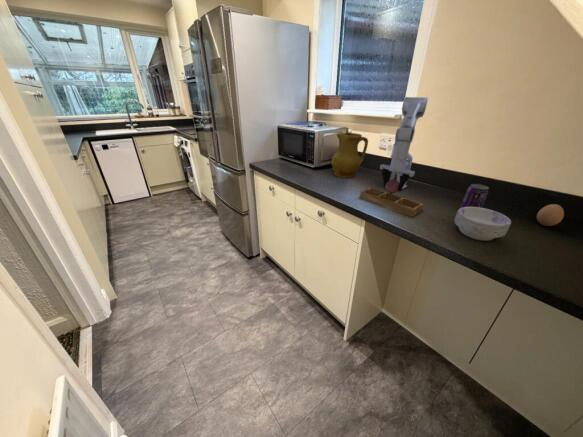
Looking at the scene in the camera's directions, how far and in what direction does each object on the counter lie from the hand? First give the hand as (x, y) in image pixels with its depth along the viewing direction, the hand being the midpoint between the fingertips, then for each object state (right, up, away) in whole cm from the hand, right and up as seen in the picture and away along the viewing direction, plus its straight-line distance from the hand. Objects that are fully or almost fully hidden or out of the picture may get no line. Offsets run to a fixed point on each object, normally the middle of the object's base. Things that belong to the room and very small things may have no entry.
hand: (392, 188), depth 104 cm
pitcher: (-11, +14, +42) cm, 45 cm away
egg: (+55, -16, -12) cm, 58 cm away
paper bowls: (+22, -19, -19) cm, 35 cm away
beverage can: (+32, -11, -3) cm, 34 cm away
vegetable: (0, -3, +1) cm, 3 cm away
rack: (0, -7, +4) cm, 8 cm away
